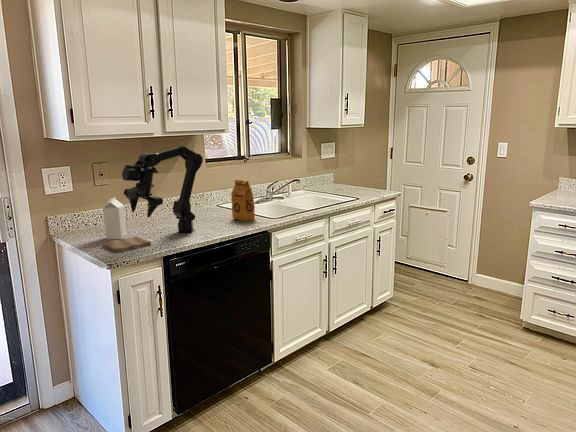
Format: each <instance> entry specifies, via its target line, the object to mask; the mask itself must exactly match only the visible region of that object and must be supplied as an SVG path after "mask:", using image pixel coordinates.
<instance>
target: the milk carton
mask: <svg viewBox="0 0 576 432" xmlns="http://www.w3.org/2000/svg"><path fill="white" fill-rule="evenodd" d="M102 210H103V219H104V220H103V221H104V228H105V237H106V240H120V239H125V238H126V237H127V227H126V217H125V206H124V204H123V203H122V202H120V201H118V200H117V198H116V196H114V197H112V198H110V199H109V200H108V201H106V202H105V206H104V207H103V209H102Z"/></svg>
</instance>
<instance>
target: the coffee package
mask: <svg viewBox="0 0 576 432" xmlns="http://www.w3.org/2000/svg"><path fill="white" fill-rule="evenodd" d="M233 182H234V185H233V188H232V191H231V193H230V195H231V213H232V219H235V220H239V221H242V222H245V223H246V222H251V221H255V201H254V200H255V199H254V195H253V191H252V189H251V186H250V182H249V181H248V180H241V179H234V181H233Z"/></svg>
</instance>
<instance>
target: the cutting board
mask: <svg viewBox="0 0 576 432" xmlns="http://www.w3.org/2000/svg"><path fill="white" fill-rule="evenodd" d="M151 245H152V242H151V241H150V240H146V238H145V239H144V238H142V237H139V236H137V235H135V236H131V237H124V238H122V239H114V240H111V241H106V242H101V246H102V247H103V248H104V247H105V249H106V250H109V251H111V252H113V253H114V254H115V253H116V254H118V253H122V252H126V251H130V250H135V249H138V248H139V249H140V248H144V247H148V246H151Z"/></svg>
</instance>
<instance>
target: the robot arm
mask: <svg viewBox="0 0 576 432" xmlns="http://www.w3.org/2000/svg"><path fill="white" fill-rule="evenodd" d="M178 156H179V157H181V158H182V159H183V160H184V166H185V173H184V178H183V183H182V187H181V191H180V196H179V198H178V200H174V202H173V206H172V208H171V209H172V213H173V215H174V216H175V217H176V220H178V222H177V231H178V233H179V234H183V233H184V234H187V233H188V234H190V233H191V234H192V233H193V232H194V231H195V228H194V220H195V219H196V215H195V214H194V213H193V212H192V206H191V201H190V200H191V196H192V191H193V187H194V182H195V179H196V175H197V172H198V171H199V170H200V168H201V167H202V164H203V160H204V158H203V156H202V154H200V153H197V152H195V151H193V150H191V149H189V148H188V147H186V146H184V145H177V146H175V147H172V148H169V149H165V150H162V151H159V152H148V153H142V154H140V155H139V157H138V160H137V161H136V162H135V163H134V164H133V165H130V164H129V165H128V164H125V166H124V168H123V170H122V172H121V178H122V180H123V181H128V182H136V184H135V186H133V187H131V188H125V189H124V190H123V195H124V196H125V198H127V200H128V201H129V205H130V208H131V211H132V213H134V212H135V211H136V209H137V205H138V202H139V198H141V199H143V200H146V201H147V203H146V205H147V206H148V207H147V213H146V214H147V215H146V217H147V218H150V217H151V216H152V214H153V212H154V211H155V210H156V209H157V208H158V207H159V206H161V205H163V204H164V203H163V202H164V199H163V197H159V196H157V195H155V196H153V192H151V191H152V188H154V184H153V180H154V179H153V178H154V174H158V173H159V171H158V170H157V168H156V167H155V166H157V165H159V164H160V163H161V162H163V161H166V160H169V159H173V158H175V157H178Z"/></svg>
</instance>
